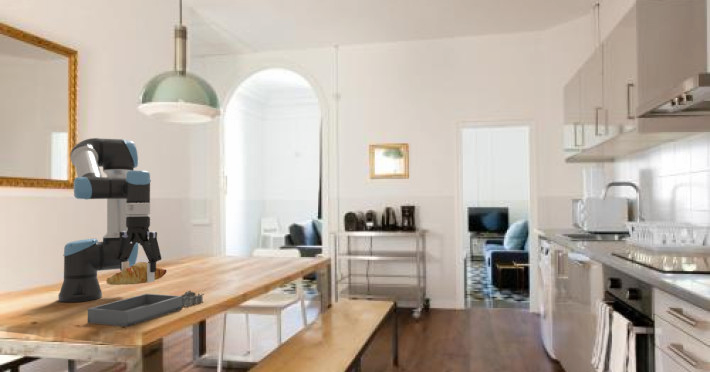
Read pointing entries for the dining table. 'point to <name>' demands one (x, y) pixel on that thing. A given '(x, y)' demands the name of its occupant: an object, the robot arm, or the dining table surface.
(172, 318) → the dining table surface
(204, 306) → the dining table surface
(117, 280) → the croissant
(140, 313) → the grey rectangular open tray
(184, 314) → the dining table surface
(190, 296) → the egg carton
